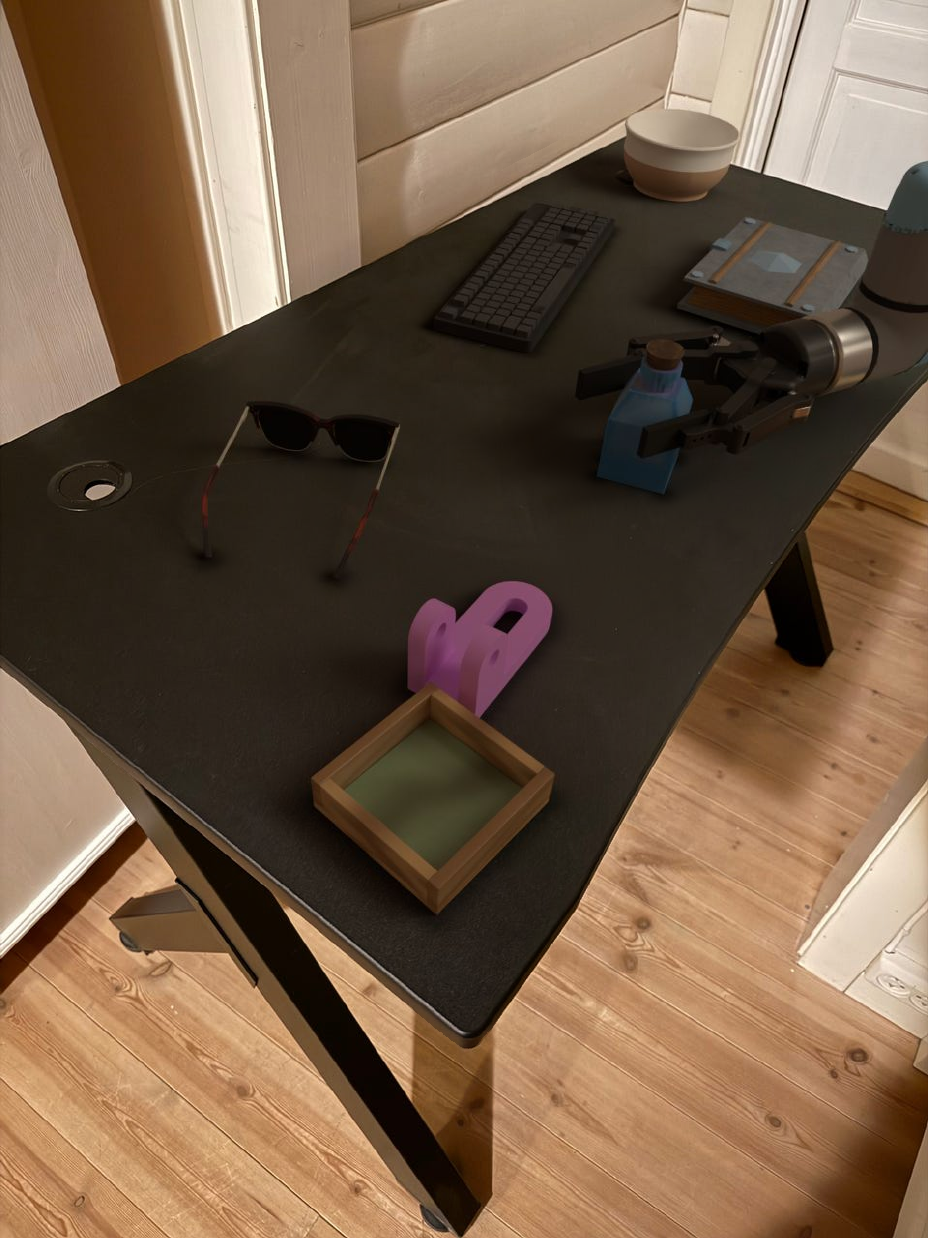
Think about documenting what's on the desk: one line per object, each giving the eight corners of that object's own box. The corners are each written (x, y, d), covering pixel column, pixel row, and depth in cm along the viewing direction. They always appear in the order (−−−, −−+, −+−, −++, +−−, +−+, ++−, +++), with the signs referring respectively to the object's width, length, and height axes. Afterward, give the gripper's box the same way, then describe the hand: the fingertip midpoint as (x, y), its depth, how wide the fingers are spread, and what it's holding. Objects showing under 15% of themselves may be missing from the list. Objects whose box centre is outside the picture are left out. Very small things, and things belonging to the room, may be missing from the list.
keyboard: (533, 212, 122) (535, 196, 121) (614, 229, 120) (617, 213, 119) (432, 329, 99) (433, 312, 98) (530, 353, 97) (532, 336, 95)
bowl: (665, 157, 139) (676, 100, 133) (748, 193, 131) (764, 134, 125) (592, 179, 132) (601, 120, 126) (676, 218, 123) (690, 156, 118)
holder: (548, 801, 58) (555, 773, 56) (436, 915, 52) (438, 889, 50) (429, 710, 63) (430, 681, 60) (313, 806, 57) (310, 777, 55)
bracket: (474, 724, 62) (480, 657, 57) (407, 688, 64) (408, 620, 59) (562, 613, 70) (575, 546, 65) (501, 584, 72) (508, 516, 67)
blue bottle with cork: (663, 494, 81) (695, 375, 72) (596, 476, 82) (620, 358, 74) (677, 456, 85) (709, 340, 76) (613, 440, 86) (637, 324, 78)
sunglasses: (401, 463, 82) (400, 419, 78) (357, 593, 72) (354, 548, 68) (254, 442, 83) (246, 396, 79) (190, 566, 73) (178, 521, 69)
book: (811, 354, 100) (827, 312, 96) (672, 310, 105) (682, 268, 101) (859, 283, 113) (875, 244, 109) (733, 247, 118) (744, 208, 114)
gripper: (876, 453, 82) (676, 521, 73) (723, 341, 94) (539, 388, 86) (910, 380, 76) (699, 444, 68) (743, 271, 89) (548, 314, 81)
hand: (609, 413), depth 77 cm, fingers closed on blue bottle with cork, 9 cm apart
